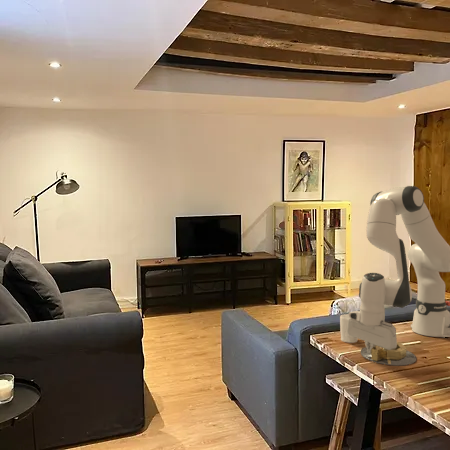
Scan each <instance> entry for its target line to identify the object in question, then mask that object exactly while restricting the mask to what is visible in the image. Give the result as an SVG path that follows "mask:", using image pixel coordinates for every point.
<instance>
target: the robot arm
mask: <svg viewBox="0 0 450 450" xmlns="http://www.w3.org/2000/svg"><path fill="white" fill-rule="evenodd" d="M369 202H370V203H369V204H370V205H369V206H370V207H369V210H368V215H367V220H366V221H367V222H366V229H365V230H366V238H367V240H368V242H369V243H370V244H371V245H372V246H374V247H375V248H377V249H379V250H382V251H383V252H386V253H389V254H390V255H391V256H393V258H394V261H395V266H396V273H397V274H396V275H397V279H394V280H393V279H385V276H384V275H383V274H381V273H378V272H369V273H368V272H367V273H365V274H364V275H363V276H362V280H361V282H360V283H359V288H358V297H359V298H360V302H361V303H360V306H359V309H358V310H354V311H350V312H348V314H349V320H348V326H347V332H348V334H349V335H350V336H353V337H356V338H358V339H359V340H361V341H364V345H365V347H366V348H367V353H368V354H371V353H372V348H374V347H376V346H380V347H382V348H385V349H387V350H392V349H395V348H396V346H397V343H398V341H397V328H396V327H395V325H394V324H393V323H391V322H387V321H385V318H386V317H385V315H386V314H385V313H386V309H385V306H392V307H396V308H401V309H403V308H405V307H407V306H408V305H410V304H411V302H412V299H413V291H412V286H411V284H410V280H409V279H410V278H409V269H408V267H409V266H408V261H407V260H409V261H410V262H411V264H412V266H413V269H414V272H415V276H416V279H417V280H416V281H417V298H415V299H416V300H415V307H416V308H415V309H414V311H413V319H412V323H411V324H410V327H411V331H413V332H414V333H416V334H418V335H422V336H425V337H435V338H445V337H450V311H449V310H448V307H450V300H446V282H445V281H444V280H443V278H442V277H441V274H440V273H450V245H449V243H447V241H446V239H445V238H444V237H443V236H442V235H441V233H440V232H439V231H438V230H439V229H438V228H437V226H436V225H435V222H434V220H433V218H432V216H431V213H430V210H429V209H428V207H427V204H426V203H425V196H424V193H423V192H422V190H421V189H420V188H419V187H417V186H415V185H407V186H401V187H393V188H390V189H386V190H384V191H378V192H376V193H375V194H373V196H372V197H371V200H370V201H369ZM399 215H400V216H401V217H400V218H401V219H402V222H403V225H404V227H405V229H406V231H407V235H408V236H409V238H410V240H412V242H414V244H411V246H410V247H409V248H408V251H407V255H406V247H405V243H404V241H403V239H401V238H399V236H398V233H397V216H399ZM407 258H408V259H407Z"/></svg>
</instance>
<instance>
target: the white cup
mask: <svg viewBox="0 0 450 450" xmlns="http://www.w3.org/2000/svg"><path fill="white" fill-rule="evenodd" d="M348 320H349V313H347V314H346V313H345V314H341V315H340V316H339V328H340V329H339V330H340V341H341V342H344V343H348V344H353V343H354V344H355V343H357V342H358V338H356V337H353V336H350V335H349V334H348V332H347V326H348Z"/></svg>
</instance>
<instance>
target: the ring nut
mask: <svg viewBox="0 0 450 450" xmlns="http://www.w3.org/2000/svg"><path fill="white" fill-rule="evenodd" d="M406 350H408V349H407V347H406V346H405V345H404V344H403V343H400V342H397V349H396V350H387V349H384V348H382V347H380V346H376V347H374V348H372V353H371V359H372V360H376V361H378V360H380V359H382V358H384V359H396V360H399V359H402V358H404V357H406Z"/></svg>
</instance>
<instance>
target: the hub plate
mask: <svg viewBox="0 0 450 450" xmlns="http://www.w3.org/2000/svg"><path fill="white" fill-rule="evenodd" d="M384 349H385V348H384ZM396 349H397V346H396V348H395V349H392V350H396ZM360 355H361V356H362V357H363V358H365V359H366V360H367V359H368V361H369V362H372V361H373V363H375V362H376V364H379V363H380V365H384V364H385V365H384V366H393V367H394V366H395V367H400V366H401V367H402V366H404V367H405V366H410V365H412V364H415V362H417V356H416V355H415V354H414V353H413V352H411V351H409V350H408V349H406V357H404V358H402V359H399V360H396V359H384V358H382V359H380V360H378V361H376V360H372V359H371V354H368V353H367V348H366V346H365V347H363V348H362V349H361V350H360ZM409 364H410V365H409Z"/></svg>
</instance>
